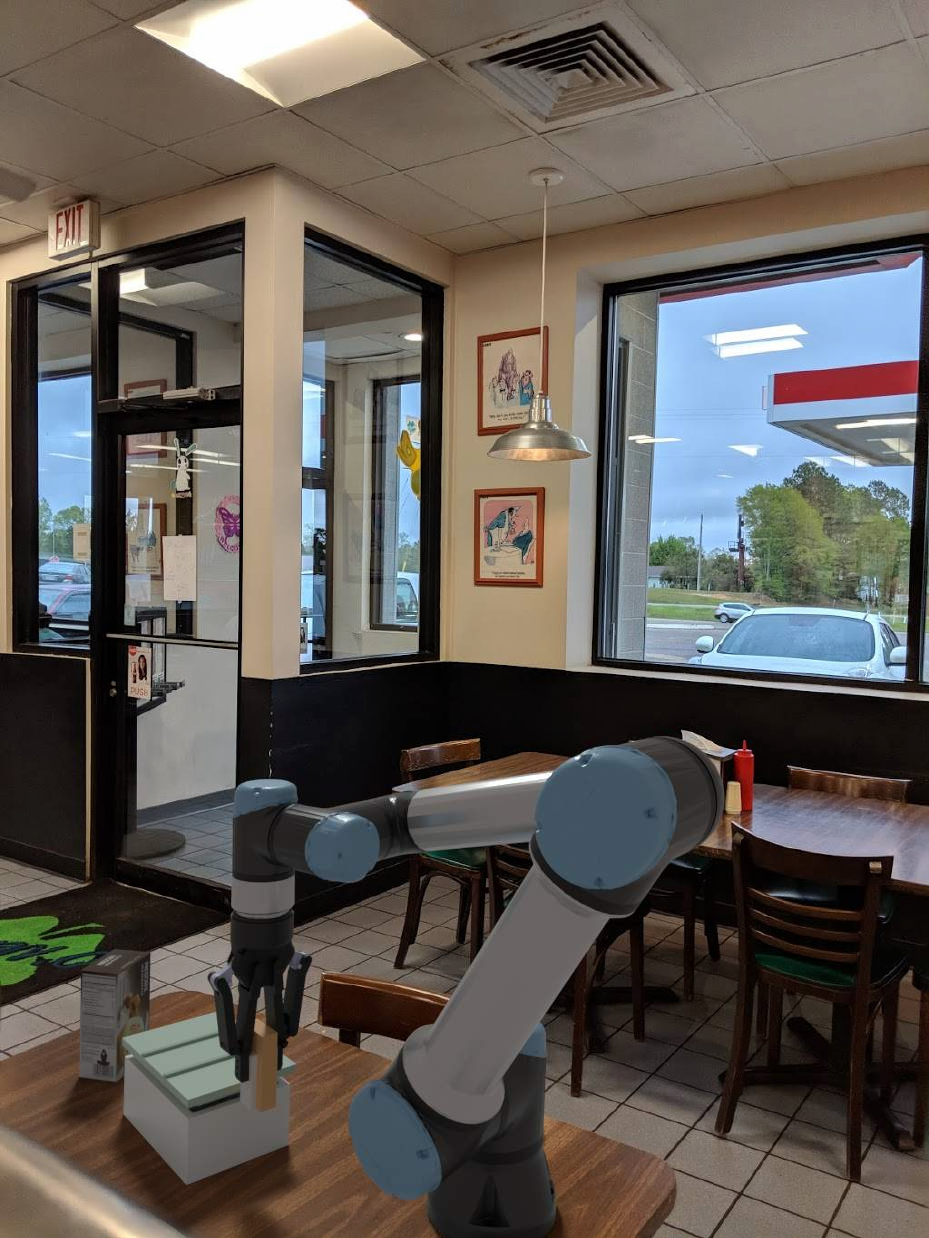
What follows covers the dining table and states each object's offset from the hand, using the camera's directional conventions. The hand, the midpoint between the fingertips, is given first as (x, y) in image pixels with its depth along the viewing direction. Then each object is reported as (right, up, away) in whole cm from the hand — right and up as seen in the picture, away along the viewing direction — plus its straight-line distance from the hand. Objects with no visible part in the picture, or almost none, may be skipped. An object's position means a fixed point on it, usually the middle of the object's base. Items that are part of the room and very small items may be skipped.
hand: (258, 1100), depth 116 cm
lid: (-7, -1, +8) cm, 11 cm away
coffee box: (-27, -9, +27) cm, 40 cm away
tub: (-10, -9, +11) cm, 17 cm away
